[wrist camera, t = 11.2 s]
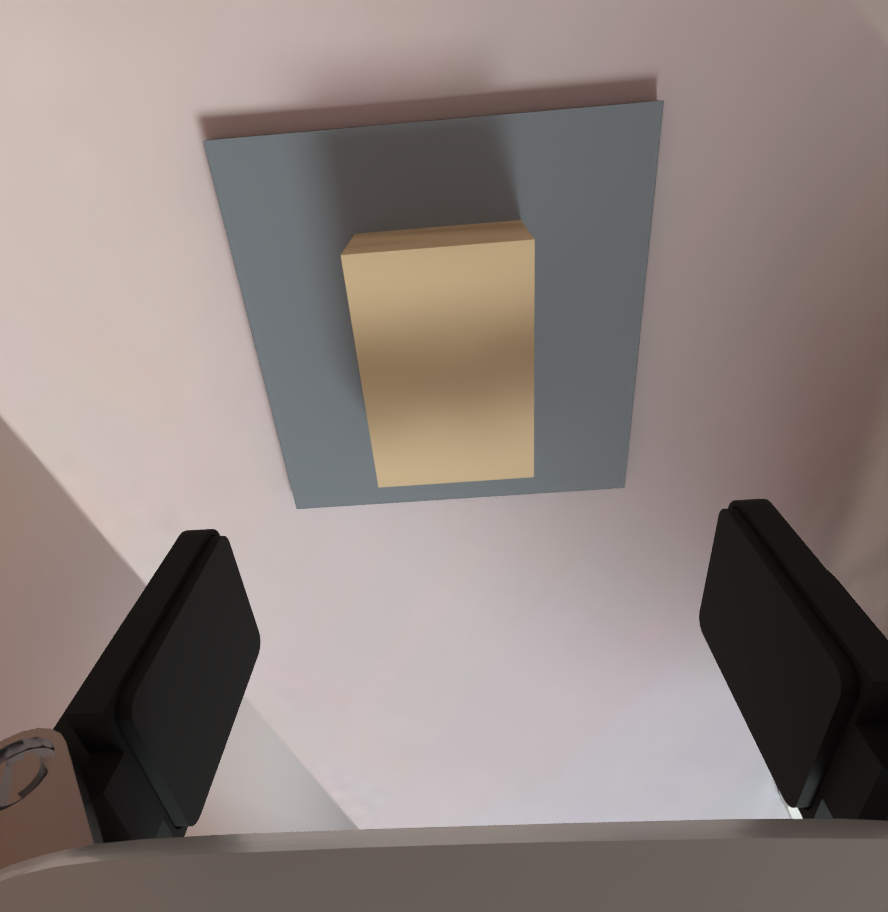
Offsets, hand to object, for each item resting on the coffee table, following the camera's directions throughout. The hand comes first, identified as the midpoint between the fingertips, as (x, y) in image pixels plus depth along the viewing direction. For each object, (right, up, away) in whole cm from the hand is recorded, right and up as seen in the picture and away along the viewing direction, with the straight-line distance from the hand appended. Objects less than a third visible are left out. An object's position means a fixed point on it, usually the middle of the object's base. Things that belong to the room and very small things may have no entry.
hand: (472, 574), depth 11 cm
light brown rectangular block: (0, +6, +10) cm, 12 cm away
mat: (0, +7, +11) cm, 13 cm away
